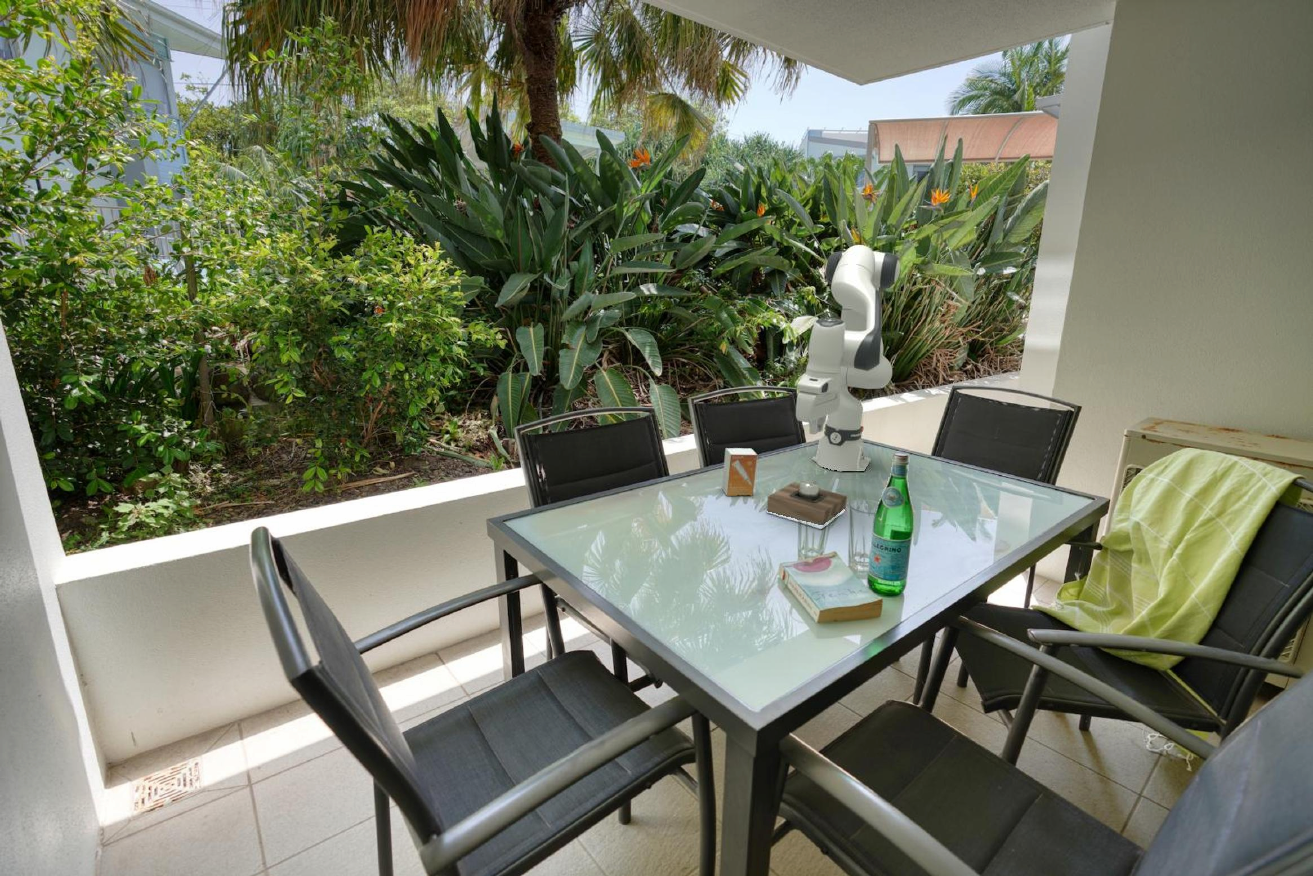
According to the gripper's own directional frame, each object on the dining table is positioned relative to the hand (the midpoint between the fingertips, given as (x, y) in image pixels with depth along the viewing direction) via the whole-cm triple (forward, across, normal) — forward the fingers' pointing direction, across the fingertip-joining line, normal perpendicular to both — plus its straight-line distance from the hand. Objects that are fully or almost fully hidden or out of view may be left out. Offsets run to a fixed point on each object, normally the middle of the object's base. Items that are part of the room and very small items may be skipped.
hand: (815, 432), depth 164 cm
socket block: (+23, 0, 0) cm, 23 cm away
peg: (+20, 0, 0) cm, 20 cm away
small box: (+23, 0, -22) cm, 32 cm away
